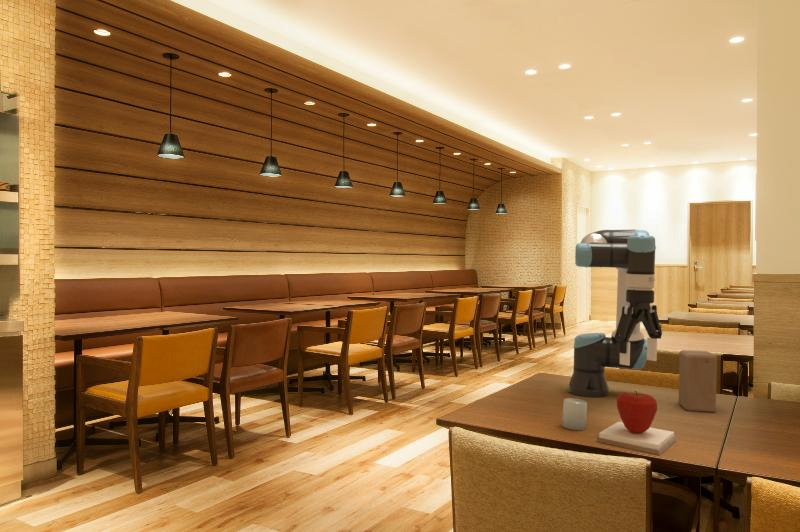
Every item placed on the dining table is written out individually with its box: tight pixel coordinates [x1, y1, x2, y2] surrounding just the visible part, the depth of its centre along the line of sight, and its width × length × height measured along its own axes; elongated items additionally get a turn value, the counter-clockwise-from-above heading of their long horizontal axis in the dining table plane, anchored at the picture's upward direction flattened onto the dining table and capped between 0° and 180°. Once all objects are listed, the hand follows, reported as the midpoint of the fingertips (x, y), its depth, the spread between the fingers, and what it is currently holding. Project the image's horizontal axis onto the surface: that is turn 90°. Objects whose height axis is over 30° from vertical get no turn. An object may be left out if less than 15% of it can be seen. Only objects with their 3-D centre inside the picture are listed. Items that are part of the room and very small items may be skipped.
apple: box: [616, 390, 658, 433], centre depth 168 cm, size 11×11×12 cm
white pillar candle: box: [561, 397, 588, 431], centre depth 181 cm, size 7×7×8 cm
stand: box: [596, 421, 677, 456], centre depth 168 cm, size 17×17×2 cm
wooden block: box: [678, 349, 718, 413], centre depth 207 cm, size 10×10×20 cm
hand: (638, 362), depth 168 cm, fingers open, 13 cm apart
